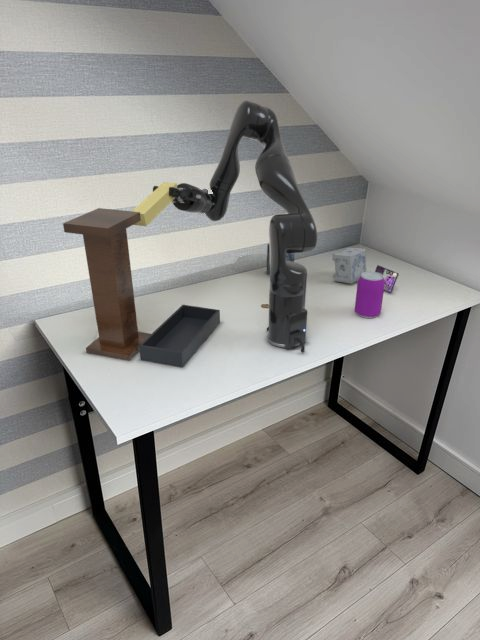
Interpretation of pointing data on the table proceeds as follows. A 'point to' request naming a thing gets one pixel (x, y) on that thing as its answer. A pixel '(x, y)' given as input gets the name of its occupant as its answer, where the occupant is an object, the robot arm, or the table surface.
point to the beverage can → (369, 294)
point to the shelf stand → (110, 280)
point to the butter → (154, 203)
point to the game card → (388, 277)
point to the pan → (180, 336)
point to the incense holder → (349, 265)
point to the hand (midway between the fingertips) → (162, 190)
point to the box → (288, 257)
